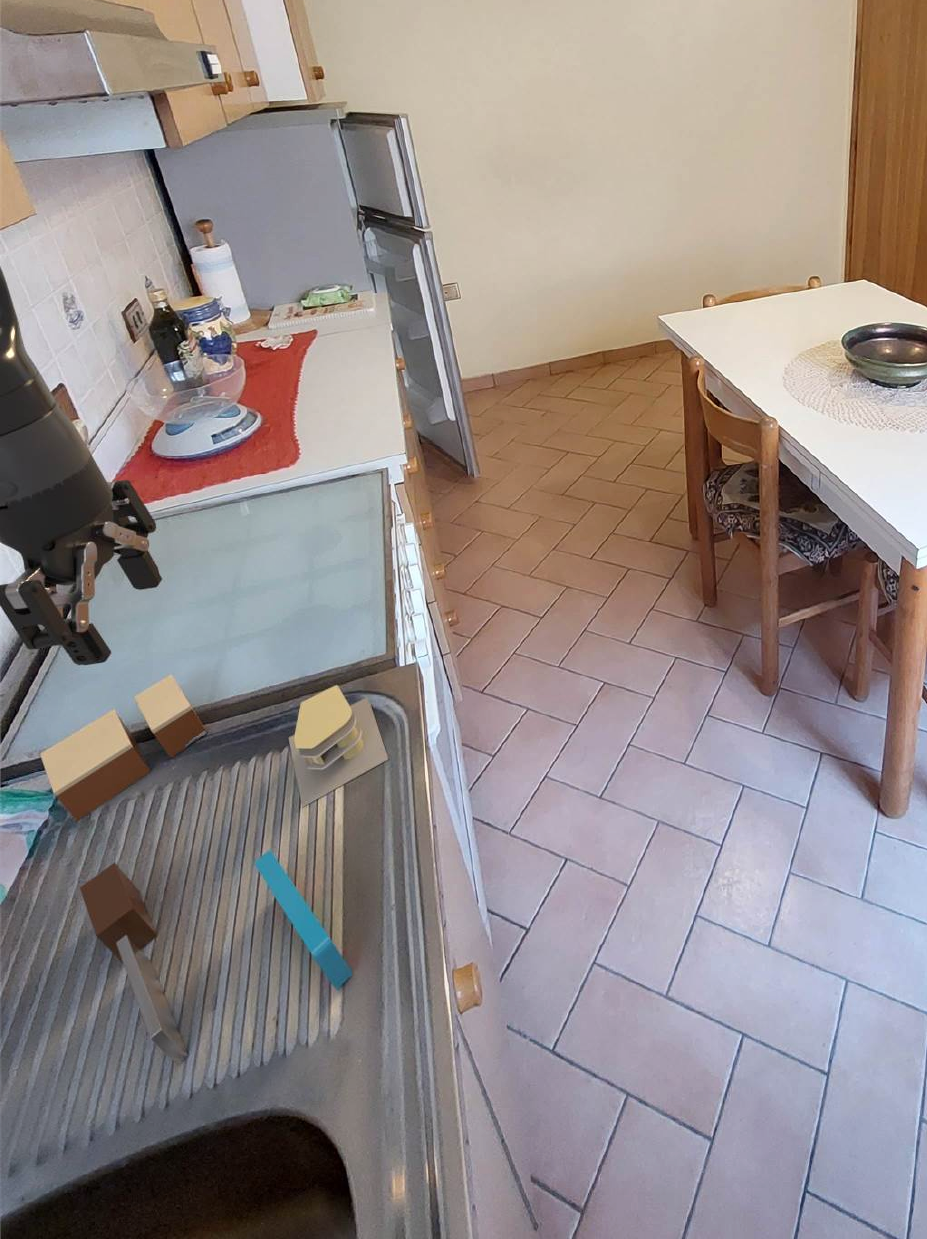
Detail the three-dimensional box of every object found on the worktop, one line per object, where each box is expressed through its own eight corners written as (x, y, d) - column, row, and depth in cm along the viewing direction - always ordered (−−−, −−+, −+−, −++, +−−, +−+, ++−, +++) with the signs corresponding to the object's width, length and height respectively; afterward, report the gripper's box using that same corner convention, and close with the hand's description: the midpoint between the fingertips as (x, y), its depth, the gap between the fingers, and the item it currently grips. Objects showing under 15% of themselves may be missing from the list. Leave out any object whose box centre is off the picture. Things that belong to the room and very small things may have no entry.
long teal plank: (276, 896, 68) (252, 860, 65) (292, 882, 69) (268, 847, 66) (337, 992, 61) (313, 956, 58) (354, 975, 62) (331, 939, 59)
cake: (77, 820, 77) (53, 792, 74) (62, 781, 81) (39, 753, 78) (150, 771, 81) (130, 743, 79) (133, 736, 85) (113, 708, 83)
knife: (163, 1078, 57) (135, 1051, 55) (105, 915, 68) (79, 887, 66) (202, 1043, 59) (175, 1016, 56) (138, 890, 70) (114, 861, 67)
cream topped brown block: (170, 758, 82) (151, 730, 80) (152, 724, 87) (133, 696, 84) (208, 733, 85) (190, 705, 82) (188, 701, 89) (171, 673, 87)
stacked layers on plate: (288, 737, 83) (271, 706, 81) (368, 696, 87) (354, 665, 85) (302, 807, 76) (283, 775, 73) (388, 759, 80) (374, 727, 77)
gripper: (37, 428, 61) (123, 571, 69) (-99, 538, 49) (25, 697, 56) (130, 415, 62) (205, 559, 69) (19, 522, 49) (126, 681, 57)
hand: (124, 621), depth 63 cm, fingers open, 8 cm apart
